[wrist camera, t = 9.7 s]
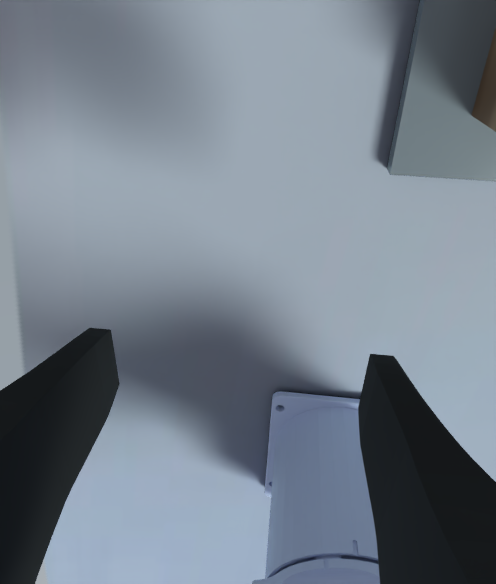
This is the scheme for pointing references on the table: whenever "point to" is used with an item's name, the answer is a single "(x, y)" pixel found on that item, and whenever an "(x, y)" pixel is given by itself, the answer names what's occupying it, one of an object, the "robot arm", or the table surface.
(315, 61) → the table surface
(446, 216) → the table surface
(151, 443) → the table surface
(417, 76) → the slate coaster
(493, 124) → the walnut cube
